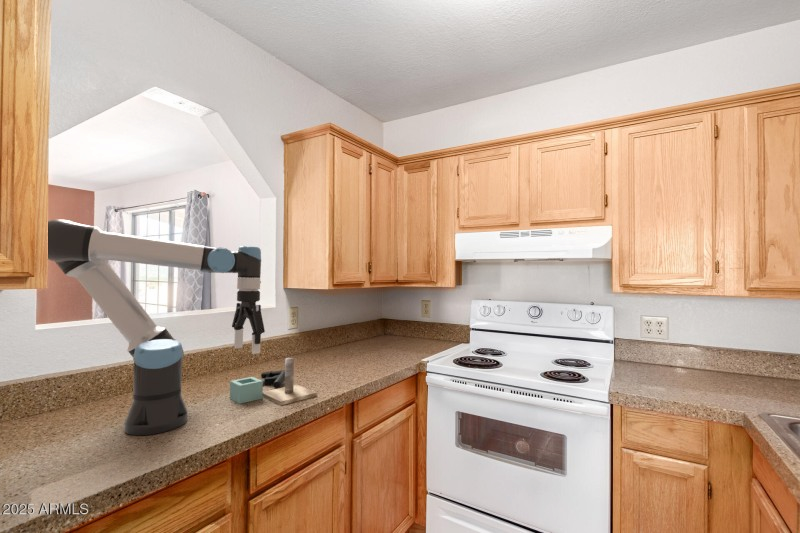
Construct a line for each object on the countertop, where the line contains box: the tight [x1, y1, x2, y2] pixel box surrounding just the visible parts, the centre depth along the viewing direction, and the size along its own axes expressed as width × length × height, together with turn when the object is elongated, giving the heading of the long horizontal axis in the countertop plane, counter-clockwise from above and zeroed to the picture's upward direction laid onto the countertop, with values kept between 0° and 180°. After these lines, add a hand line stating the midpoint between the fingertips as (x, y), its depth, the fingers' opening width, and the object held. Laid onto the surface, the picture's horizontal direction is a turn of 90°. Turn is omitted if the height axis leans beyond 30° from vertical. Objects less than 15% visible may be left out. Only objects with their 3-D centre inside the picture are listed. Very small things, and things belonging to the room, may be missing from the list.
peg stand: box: [262, 357, 318, 406], centre depth 134 cm, size 14×14×13 cm
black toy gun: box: [260, 368, 285, 389], centre depth 151 cm, size 3×20×16 cm
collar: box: [229, 376, 264, 405], centre depth 131 cm, size 8×8×6 cm
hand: (246, 350), depth 132 cm, fingers open, 13 cm apart
